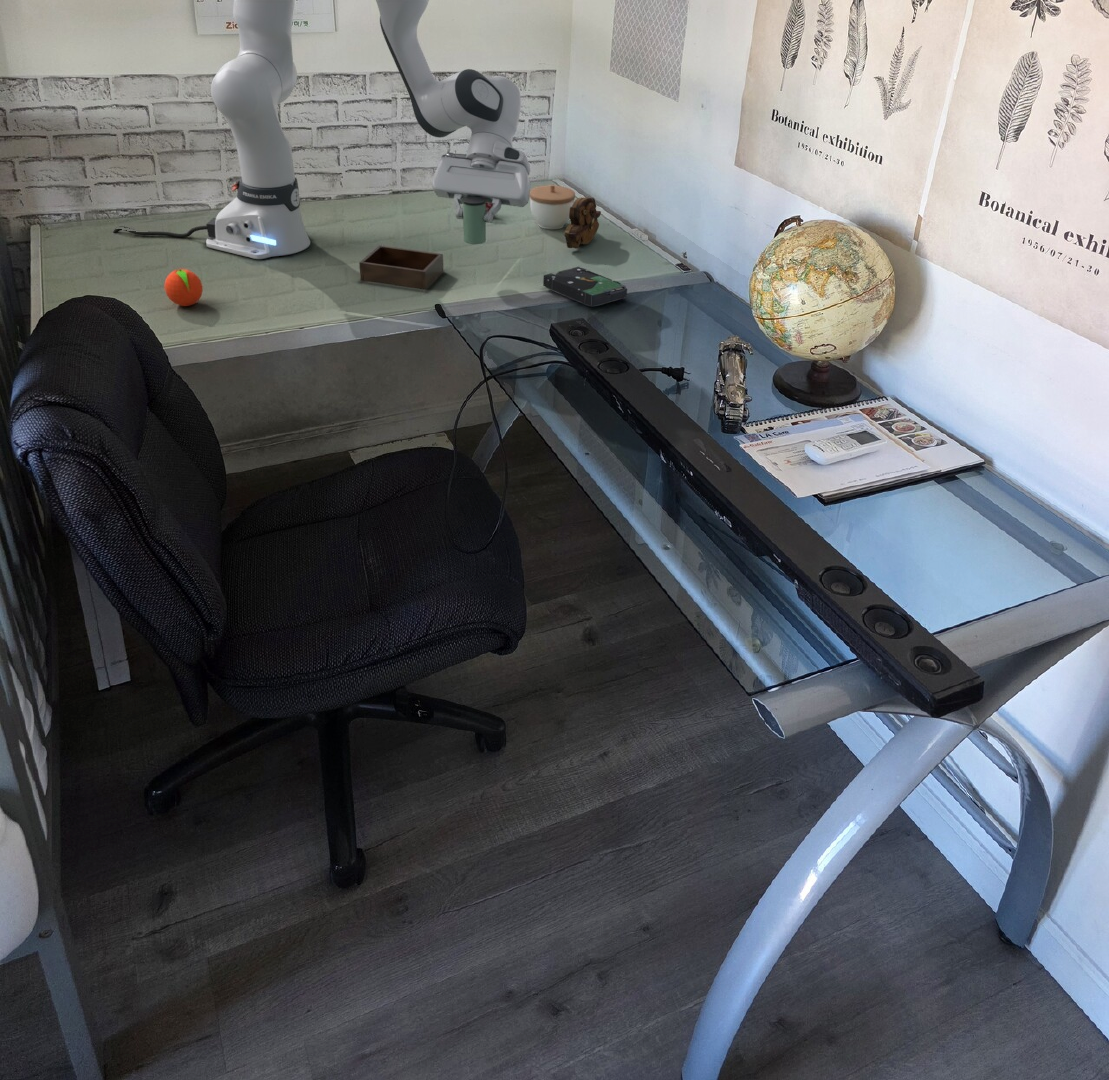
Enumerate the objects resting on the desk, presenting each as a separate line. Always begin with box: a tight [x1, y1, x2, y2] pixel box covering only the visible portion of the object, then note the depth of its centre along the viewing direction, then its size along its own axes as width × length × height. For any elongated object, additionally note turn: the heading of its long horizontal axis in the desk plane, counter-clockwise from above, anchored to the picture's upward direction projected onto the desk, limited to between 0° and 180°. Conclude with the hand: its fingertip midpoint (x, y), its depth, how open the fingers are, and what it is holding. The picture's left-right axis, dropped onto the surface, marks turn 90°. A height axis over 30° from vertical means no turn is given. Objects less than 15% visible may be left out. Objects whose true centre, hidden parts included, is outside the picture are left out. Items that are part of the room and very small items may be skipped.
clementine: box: [164, 268, 203, 307], centre depth 192 cm, size 8×7×7 cm
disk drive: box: [542, 266, 628, 308], centre depth 204 cm, size 10×3×15 cm
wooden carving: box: [563, 196, 602, 249], centre depth 225 cm, size 16×5×10 cm, turn 161°
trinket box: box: [529, 184, 576, 230], centre depth 234 cm, size 11×11×9 cm
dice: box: [486, 203, 493, 211], centre depth 239 cm, size 4×4×4 cm
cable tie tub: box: [462, 196, 487, 245], centre depth 203 cm, size 5×5×8 cm
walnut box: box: [358, 244, 444, 291], centre depth 207 cm, size 14×10×4 cm
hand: (473, 219), depth 203 cm, fingers closed on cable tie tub, 4 cm apart
